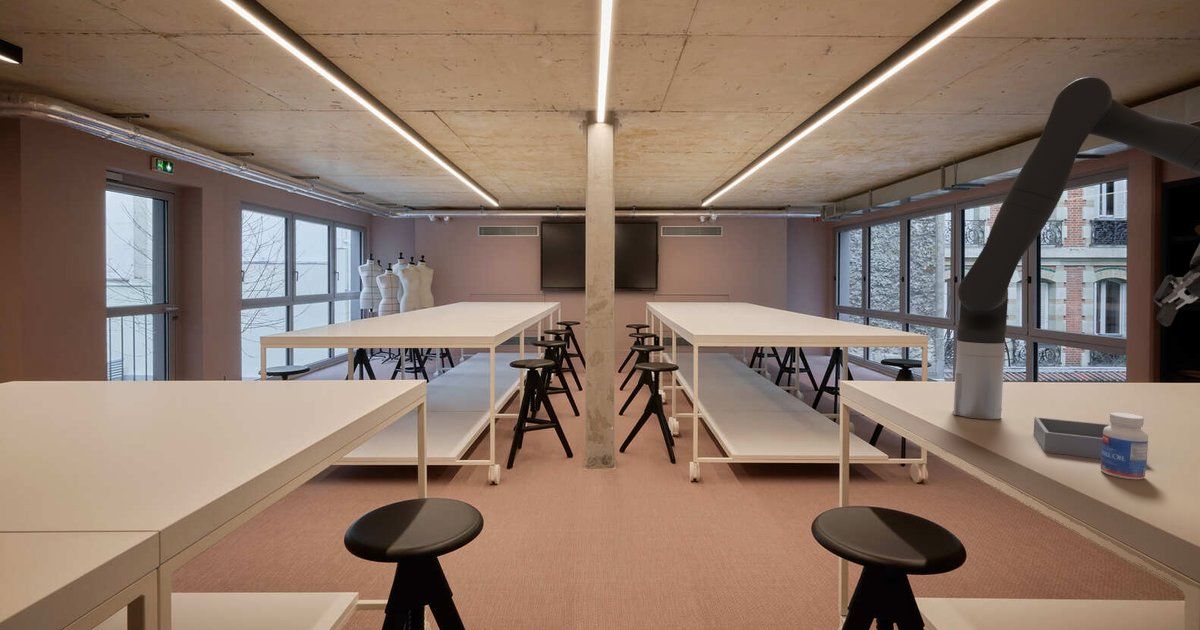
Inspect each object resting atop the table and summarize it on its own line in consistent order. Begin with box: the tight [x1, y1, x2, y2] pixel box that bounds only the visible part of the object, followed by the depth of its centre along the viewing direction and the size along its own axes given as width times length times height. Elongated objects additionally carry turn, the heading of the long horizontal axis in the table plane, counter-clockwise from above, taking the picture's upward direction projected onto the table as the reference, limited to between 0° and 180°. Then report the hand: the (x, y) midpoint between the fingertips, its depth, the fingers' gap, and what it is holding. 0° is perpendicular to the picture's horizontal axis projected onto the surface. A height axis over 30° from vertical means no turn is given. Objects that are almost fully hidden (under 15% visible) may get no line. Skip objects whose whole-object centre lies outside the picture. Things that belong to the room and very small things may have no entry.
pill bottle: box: [1100, 412, 1149, 481], centre depth 94 cm, size 6×5×10 cm
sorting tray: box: [1033, 416, 1149, 466], centre depth 109 cm, size 14×14×4 cm
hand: (1191, 322), depth 100 cm, fingers open, 8 cm apart
